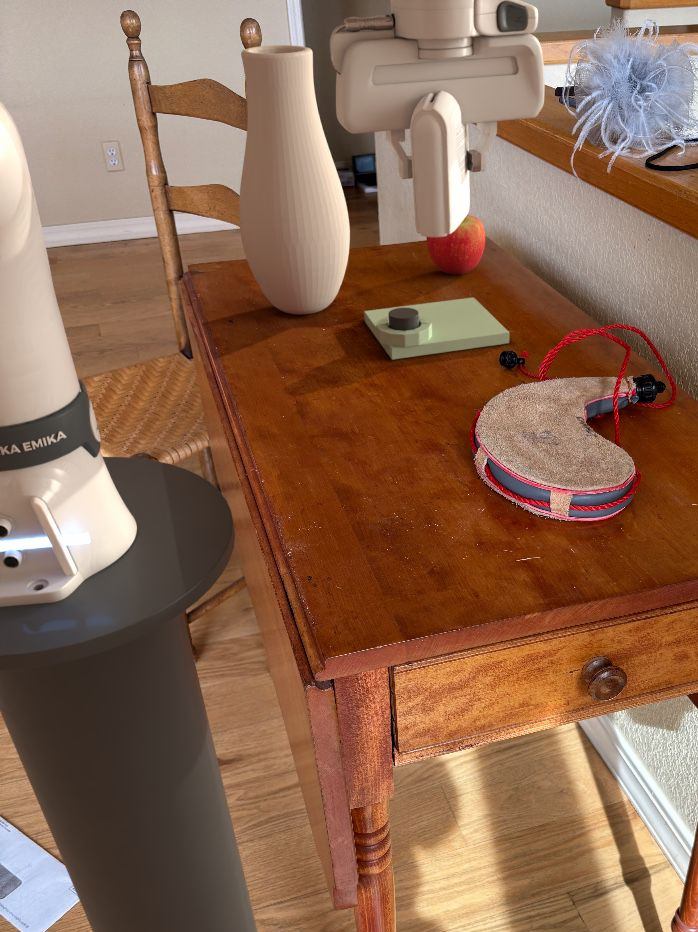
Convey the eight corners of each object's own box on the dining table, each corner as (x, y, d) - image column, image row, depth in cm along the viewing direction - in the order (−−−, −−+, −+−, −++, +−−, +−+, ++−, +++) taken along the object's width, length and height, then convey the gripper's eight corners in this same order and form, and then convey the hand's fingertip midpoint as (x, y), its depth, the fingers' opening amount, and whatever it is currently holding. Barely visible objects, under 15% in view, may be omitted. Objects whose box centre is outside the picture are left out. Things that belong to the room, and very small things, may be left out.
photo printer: (435, 209, 100) (429, 78, 92) (474, 210, 99) (471, 78, 91) (410, 238, 92) (402, 98, 84) (452, 240, 91) (448, 99, 83)
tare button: (393, 334, 110) (393, 319, 109) (385, 323, 113) (384, 309, 112) (422, 330, 111) (422, 316, 110) (414, 320, 113) (413, 305, 112)
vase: (363, 291, 129) (347, 41, 111) (344, 328, 118) (323, 58, 100) (266, 289, 130) (234, 41, 112) (239, 325, 119) (199, 57, 101)
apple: (496, 270, 136) (498, 198, 130) (458, 285, 131) (458, 211, 125) (454, 259, 140) (453, 188, 134) (415, 273, 135) (413, 200, 129)
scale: (386, 361, 110) (385, 337, 108) (358, 322, 120) (357, 299, 118) (510, 344, 114) (510, 320, 112) (473, 307, 124) (473, 285, 122)
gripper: (335, 22, 80) (349, 192, 88) (554, 9, 85) (547, 171, 93) (320, 14, 85) (334, 176, 93) (528, 2, 89) (524, 157, 98)
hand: (442, 174), depth 93 cm, fingers closed on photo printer, 6 cm apart
